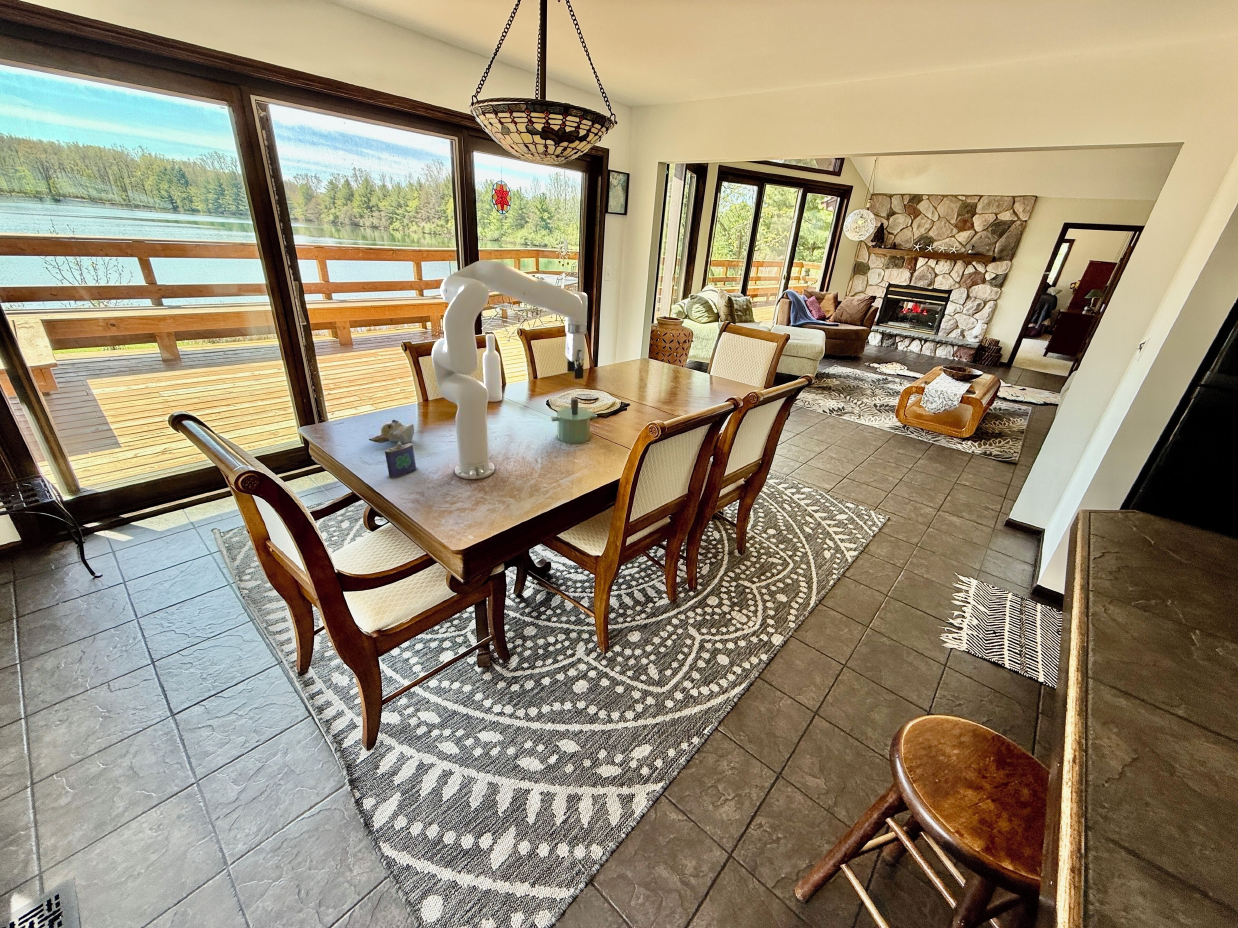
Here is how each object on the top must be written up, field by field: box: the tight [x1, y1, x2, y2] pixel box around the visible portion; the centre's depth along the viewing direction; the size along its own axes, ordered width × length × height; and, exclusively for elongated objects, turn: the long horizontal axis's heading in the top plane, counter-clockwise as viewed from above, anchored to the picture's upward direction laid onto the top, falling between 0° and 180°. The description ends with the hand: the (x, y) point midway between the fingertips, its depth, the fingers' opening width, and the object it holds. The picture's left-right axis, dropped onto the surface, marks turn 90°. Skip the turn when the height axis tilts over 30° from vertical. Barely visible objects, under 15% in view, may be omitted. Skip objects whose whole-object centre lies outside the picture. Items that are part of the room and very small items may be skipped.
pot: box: [550, 413, 598, 445], centre depth 189 cm, size 13×18×10 cm
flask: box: [384, 441, 417, 479], centre depth 153 cm, size 9×3×11 cm, turn 144°
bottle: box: [482, 333, 503, 403], centre depth 220 cm, size 8×8×30 cm
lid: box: [556, 397, 593, 421], centre depth 185 cm, size 14×14×7 cm
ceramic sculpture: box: [368, 419, 415, 444], centre depth 175 cm, size 11×9×15 cm
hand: (575, 375), depth 180 cm, fingers open, 9 cm apart
